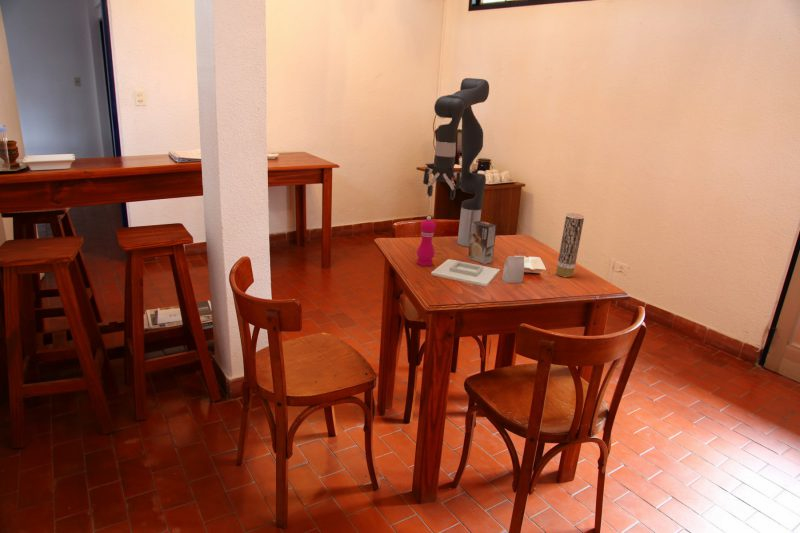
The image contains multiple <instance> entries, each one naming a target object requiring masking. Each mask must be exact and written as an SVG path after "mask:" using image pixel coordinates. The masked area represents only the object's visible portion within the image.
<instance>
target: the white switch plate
mask: <svg viewBox="0 0 800 533" xmlns="http://www.w3.org/2000/svg"><path fill="white" fill-rule="evenodd" d="M500 271H501V269H499V268H494V267H490V266H484V265H480V264H474V263H471V262H466V261H460V260H455V259H450V258H448V259H446V260H445V261H444V262H443V263H442V264H440V265H439V266H437V267H436V268H435V269H433V270H432V271H431V274H430V276H436V277H440V278H444V279H448V280H454V281H458V282H463V283H467V284H471V285H478V286H482V287H487V286H488V285H489V284H490V283H491V282H492V281H493V280H494V279H495V277H496V276H497V275H498V274H499V273H500Z"/></svg>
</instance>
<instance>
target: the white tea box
mask: <svg viewBox="0 0 800 533" xmlns="http://www.w3.org/2000/svg"><path fill="white" fill-rule="evenodd" d="M524 273H525V256H509V255H508V256H507V257H506V259H505V262H504V264H503V270H502V277H501V278H502V279H501V280H502V281H503V282H504V283H505V284H523V280H524V275H525V274H524Z"/></svg>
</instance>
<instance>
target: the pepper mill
mask: <svg viewBox="0 0 800 533" xmlns="http://www.w3.org/2000/svg"><path fill="white" fill-rule="evenodd" d="M436 227H437V225H436V222H435V221H434V220H432V216H430V215H428V216H426V219H425V220H424V219H423V221H421V223H420V229H421V231H420V232H421V234H420V235H421V242H420V244H419V246H418V248H417V250H416V255H417V257H418V258H417V259H416V260H417V262H416V264H418V266H421V267H430V266H433V258H434V257H435V247H434V246H433V237H434V234H435V232H434V231H435V230H436Z"/></svg>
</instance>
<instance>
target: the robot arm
mask: <svg viewBox="0 0 800 533" xmlns="http://www.w3.org/2000/svg"><path fill="white" fill-rule="evenodd" d="M489 94H490V83H489V82H488V80H486V79H484V78H476V77H475V78H474V77H473V78H472V77H466V78H463V79H462V80H461V83H460V89H459V90H458V91H456V92H454V93H452V94H446V95H442V96H440V97H438V98H437V99H436V101H435V103H434V107H433V109H434V113H435V115H436V116H438V118H443V119H445V118H446V119H447V118H448V119H451V120H450V122H449V123H445V124H444V123H443V124H439V125H438V127H437V135H436V143H435V147H434V158H433V168H430V167H426V168H425V169H424V174H423V181H422V184H424V185H426V186H427V192H426V193H427V195H428V197H432V196H433V191H434V190H433V188H434V186H433V185H434V184H435V183H436V182H439V183H441V182H442V183H447V185H448V186H449V187H450V194H449V200H451V201H453V200H454V198H456V190H458V189H460V190H461V192H463V193H466V194H473V195H474V197H472V198H469V199H465V200H463V201H462V202H461V207H460V218H459V227H458V235H457V245H459V246H462V247H468V248H469V245H470V235H471V226H472V223H473V222H477V221H481V217H482V216H481V215H482V208H483V202H484V195H485V189H486V184H487V178H486V175H485V174H483V173H477V172H471V166H472V164H473V163H474V161H475V159H476V158H477V156H479V154H480V153H481V151H482V150H483V148H484V130H483V128H482V126H481V124H480V122H479V121H478V119H477V118H476V115H475V114H474V111H473V109H472V106H473V105H477V104H480V103H484V102H486V101H487V100H488V98H489ZM460 123H461V171H459V172H458V171H455V170H454V168H455V162H456V161H455V160H456V151H457V150H456V149H457V147H456V146H457V134H458V130H459V125H460ZM431 174H432V175H433V177H432V178H431V179H430V176H431ZM453 177H454V178H455V181H456V182H455V181H454V179H453ZM429 180H430V181H429Z"/></svg>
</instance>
